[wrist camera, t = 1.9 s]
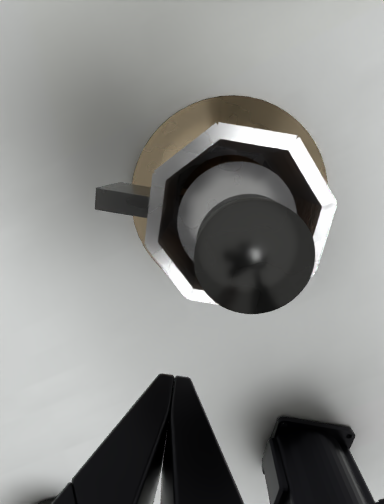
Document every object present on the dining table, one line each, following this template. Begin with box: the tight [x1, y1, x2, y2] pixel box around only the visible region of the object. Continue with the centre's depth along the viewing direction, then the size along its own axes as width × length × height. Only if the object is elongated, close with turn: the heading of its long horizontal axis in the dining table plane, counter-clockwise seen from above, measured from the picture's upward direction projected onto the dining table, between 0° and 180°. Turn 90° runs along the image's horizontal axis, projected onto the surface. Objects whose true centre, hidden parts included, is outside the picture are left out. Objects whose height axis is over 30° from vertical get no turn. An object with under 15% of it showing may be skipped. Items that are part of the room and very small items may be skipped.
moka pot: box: [95, 96, 337, 305], centre depth 16 cm, size 13×13×7 cm
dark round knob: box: [177, 161, 315, 314], centre depth 11 cm, size 5×5×6 cm
